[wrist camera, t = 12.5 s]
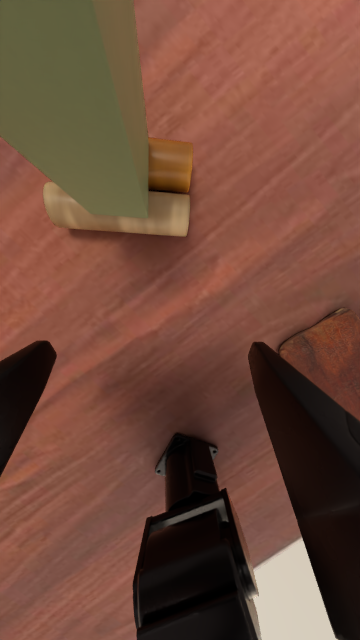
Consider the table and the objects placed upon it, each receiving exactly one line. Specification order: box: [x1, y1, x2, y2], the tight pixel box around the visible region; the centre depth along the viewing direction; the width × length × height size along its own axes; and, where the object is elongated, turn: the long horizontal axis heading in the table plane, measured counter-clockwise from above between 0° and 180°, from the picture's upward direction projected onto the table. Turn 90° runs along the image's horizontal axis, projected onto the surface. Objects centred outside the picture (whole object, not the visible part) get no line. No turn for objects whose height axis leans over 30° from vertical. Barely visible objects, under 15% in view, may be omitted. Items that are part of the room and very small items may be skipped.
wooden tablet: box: [279, 308, 360, 421], centre depth 24 cm, size 27×10×2 cm, turn 34°
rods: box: [43, 137, 193, 237], centre depth 15 cm, size 7×11×3 cm, turn 87°
